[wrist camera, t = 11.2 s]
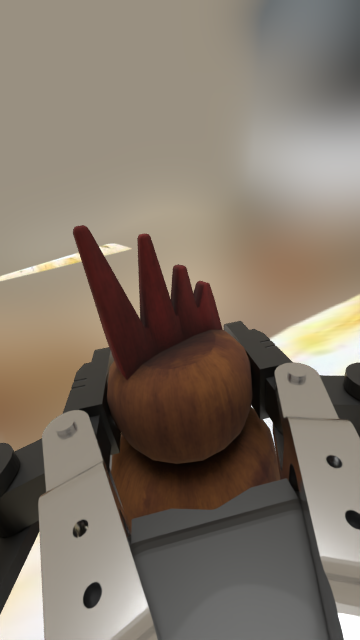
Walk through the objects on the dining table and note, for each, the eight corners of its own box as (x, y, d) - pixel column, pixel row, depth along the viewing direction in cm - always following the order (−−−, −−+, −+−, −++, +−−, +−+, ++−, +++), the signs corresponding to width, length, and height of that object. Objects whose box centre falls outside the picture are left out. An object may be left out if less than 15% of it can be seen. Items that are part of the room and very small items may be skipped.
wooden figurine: (146, 638, 10) (-69, 257, 3) (135, 491, 15) (42, 227, 9) (300, 574, 11) (362, 187, 4) (241, 457, 16) (229, 197, 10)
